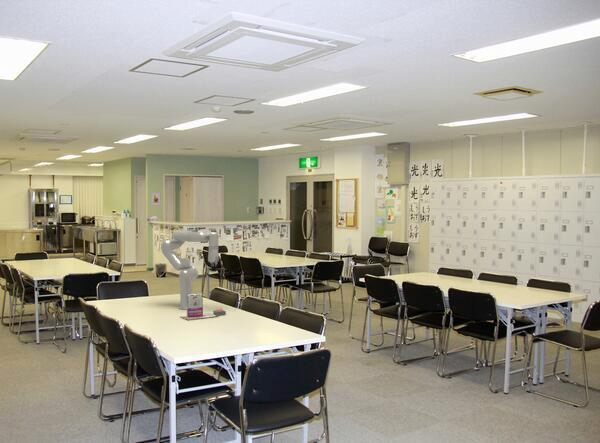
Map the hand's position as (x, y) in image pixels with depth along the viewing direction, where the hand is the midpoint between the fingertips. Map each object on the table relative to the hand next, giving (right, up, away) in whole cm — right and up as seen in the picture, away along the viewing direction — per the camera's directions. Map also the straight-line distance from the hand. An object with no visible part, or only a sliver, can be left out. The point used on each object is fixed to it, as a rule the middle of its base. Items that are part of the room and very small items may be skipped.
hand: (213, 271), depth 435 cm
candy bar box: (-10, -31, -27) cm, 42 cm away
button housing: (+7, -32, -16) cm, 36 cm away
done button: (+7, -31, -16) cm, 36 cm away
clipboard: (-7, -32, -25) cm, 41 cm away
